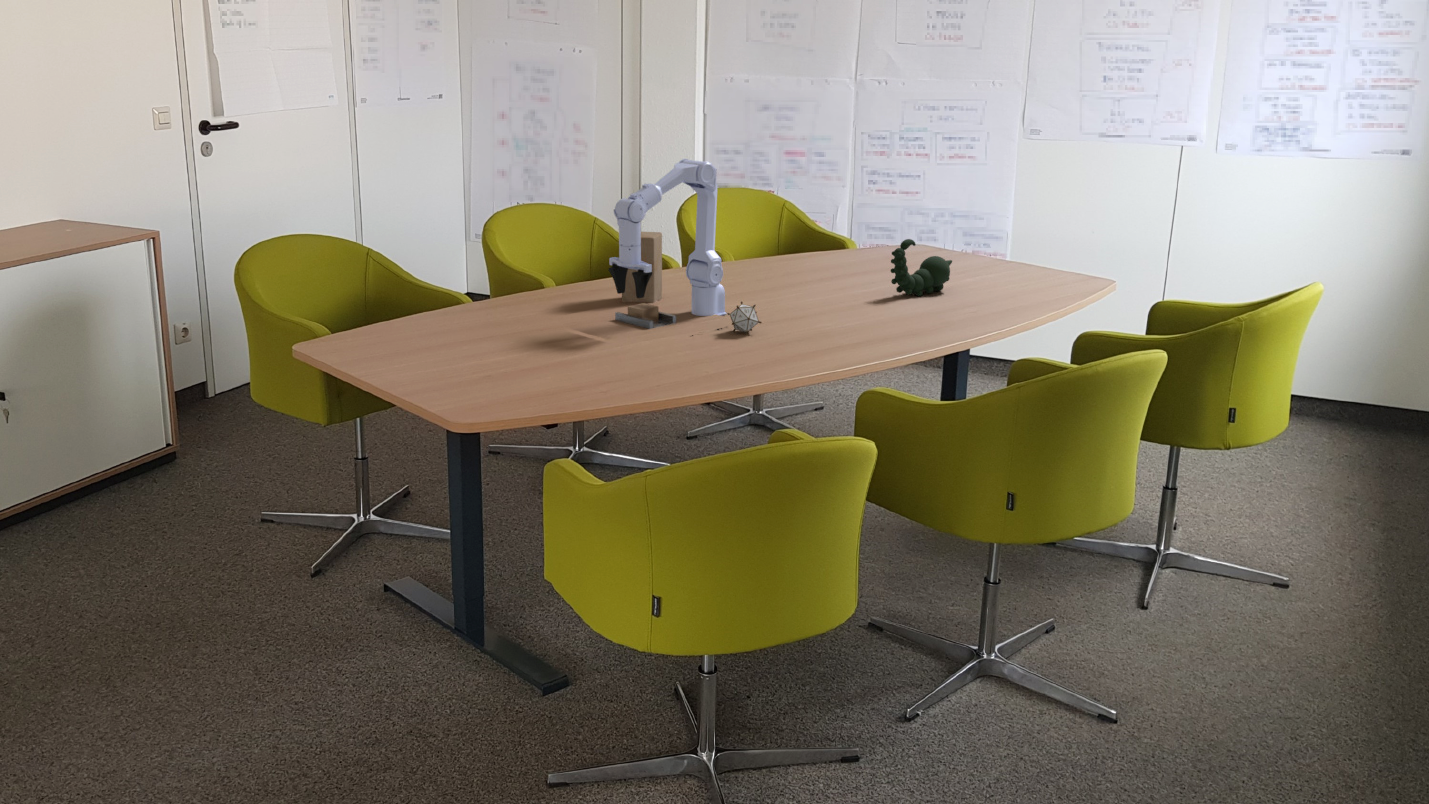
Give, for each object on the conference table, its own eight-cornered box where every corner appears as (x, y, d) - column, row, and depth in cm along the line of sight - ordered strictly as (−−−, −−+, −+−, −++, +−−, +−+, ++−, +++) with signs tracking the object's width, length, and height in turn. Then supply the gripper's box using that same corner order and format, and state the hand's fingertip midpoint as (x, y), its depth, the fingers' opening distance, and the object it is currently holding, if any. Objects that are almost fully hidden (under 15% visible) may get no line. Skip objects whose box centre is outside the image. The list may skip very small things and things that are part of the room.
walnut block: (643, 317, 336) (643, 303, 335) (658, 320, 332) (658, 306, 331) (627, 320, 332) (627, 306, 331) (642, 324, 328) (642, 310, 327)
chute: (641, 316, 340) (641, 307, 339) (701, 332, 324) (701, 322, 323) (615, 322, 333) (615, 312, 332) (675, 338, 317) (675, 328, 316)
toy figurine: (906, 306, 363) (963, 289, 377) (906, 245, 357) (963, 229, 370) (884, 300, 371) (940, 283, 384) (883, 240, 364) (940, 225, 378)
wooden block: (654, 305, 354) (653, 237, 348) (621, 303, 356) (620, 236, 350) (662, 298, 363) (662, 232, 357) (630, 296, 365) (629, 230, 359)
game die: (741, 347, 324) (726, 322, 317) (733, 329, 330) (718, 304, 323) (770, 331, 323) (755, 306, 316) (761, 313, 329) (747, 288, 322)
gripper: (600, 243, 318) (601, 293, 322) (637, 250, 309) (638, 302, 313) (620, 239, 323) (620, 289, 327) (657, 246, 314) (657, 297, 318)
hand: (630, 295), depth 320 cm, fingers open, 7 cm apart
